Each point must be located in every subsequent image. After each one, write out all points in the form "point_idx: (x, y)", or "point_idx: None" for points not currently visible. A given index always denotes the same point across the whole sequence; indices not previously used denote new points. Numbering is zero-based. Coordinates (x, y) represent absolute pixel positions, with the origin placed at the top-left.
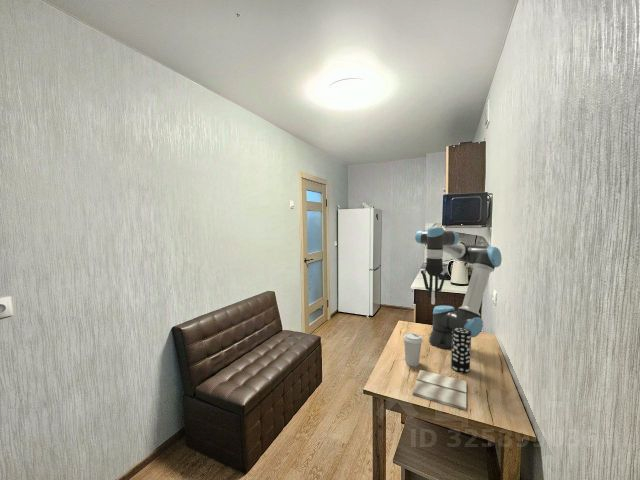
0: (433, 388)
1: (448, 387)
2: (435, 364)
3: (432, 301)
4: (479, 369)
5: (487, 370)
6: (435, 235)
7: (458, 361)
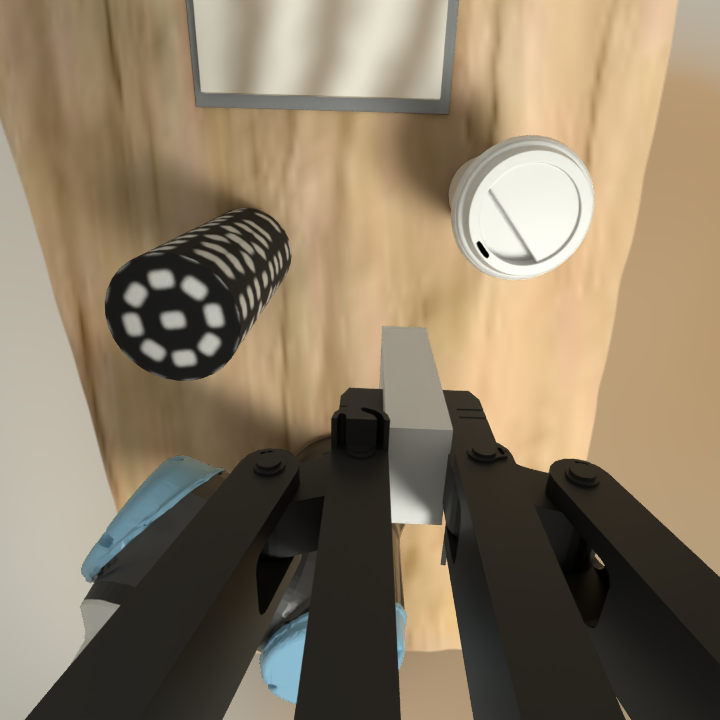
0: None
1: None
2: (365, 248)
3: (412, 344)
4: None
5: None
6: None
7: (240, 218)
